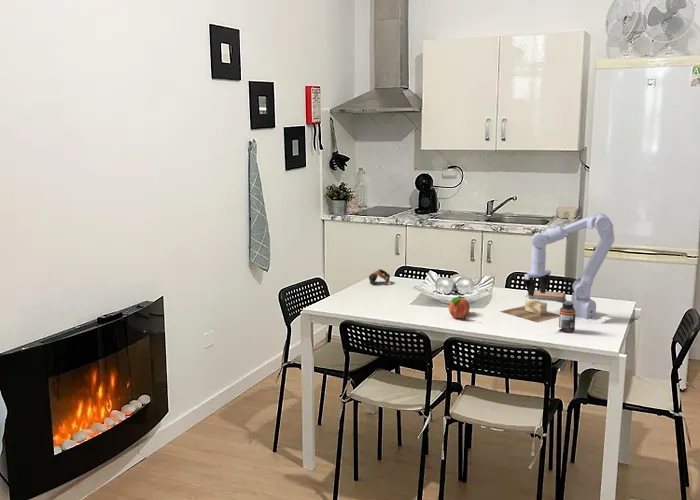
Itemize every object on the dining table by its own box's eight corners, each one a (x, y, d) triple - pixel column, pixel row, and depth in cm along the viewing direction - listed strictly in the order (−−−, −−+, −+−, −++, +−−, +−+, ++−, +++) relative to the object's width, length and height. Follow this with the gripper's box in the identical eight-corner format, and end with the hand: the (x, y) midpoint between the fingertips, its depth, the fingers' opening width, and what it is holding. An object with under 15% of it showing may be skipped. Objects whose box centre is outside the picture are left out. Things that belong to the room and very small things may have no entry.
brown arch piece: (375, 281, 358) (383, 268, 356) (387, 292, 353) (395, 279, 350) (361, 279, 349) (369, 266, 346) (372, 290, 343) (381, 277, 341)
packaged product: (566, 291, 317) (565, 296, 308) (566, 301, 318) (564, 306, 309) (526, 287, 323) (523, 292, 314) (525, 297, 324) (523, 303, 315)
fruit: (473, 317, 291) (474, 294, 289) (461, 322, 284) (461, 298, 282) (456, 313, 296) (456, 290, 295) (443, 318, 289) (444, 294, 288)
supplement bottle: (563, 327, 276) (564, 300, 274) (577, 330, 272) (579, 302, 270) (555, 331, 272) (557, 302, 270) (570, 334, 268) (571, 305, 266)
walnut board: (562, 319, 287) (562, 315, 287) (537, 326, 278) (537, 322, 278) (524, 308, 303) (524, 305, 303) (499, 314, 294) (499, 311, 294)
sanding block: (546, 313, 290) (547, 303, 289) (540, 315, 288) (540, 304, 287) (531, 309, 297) (531, 299, 296) (524, 311, 294) (525, 300, 294)
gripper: (541, 258, 296) (540, 289, 299) (519, 262, 288) (517, 294, 290) (555, 261, 290) (553, 292, 293) (532, 265, 282) (531, 298, 285)
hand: (536, 294), depth 291 cm, fingers open, 7 cm apart
